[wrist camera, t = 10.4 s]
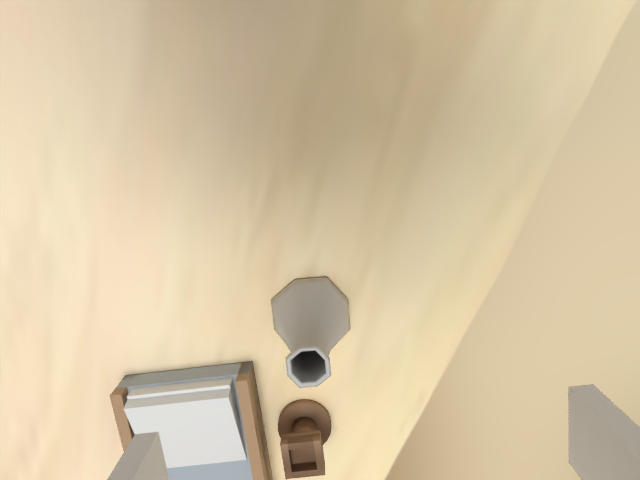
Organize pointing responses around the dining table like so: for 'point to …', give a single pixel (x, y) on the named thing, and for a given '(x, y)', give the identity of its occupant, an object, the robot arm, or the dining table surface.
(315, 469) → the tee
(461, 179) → the dining table surface
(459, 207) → the dining table surface
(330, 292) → the flask
